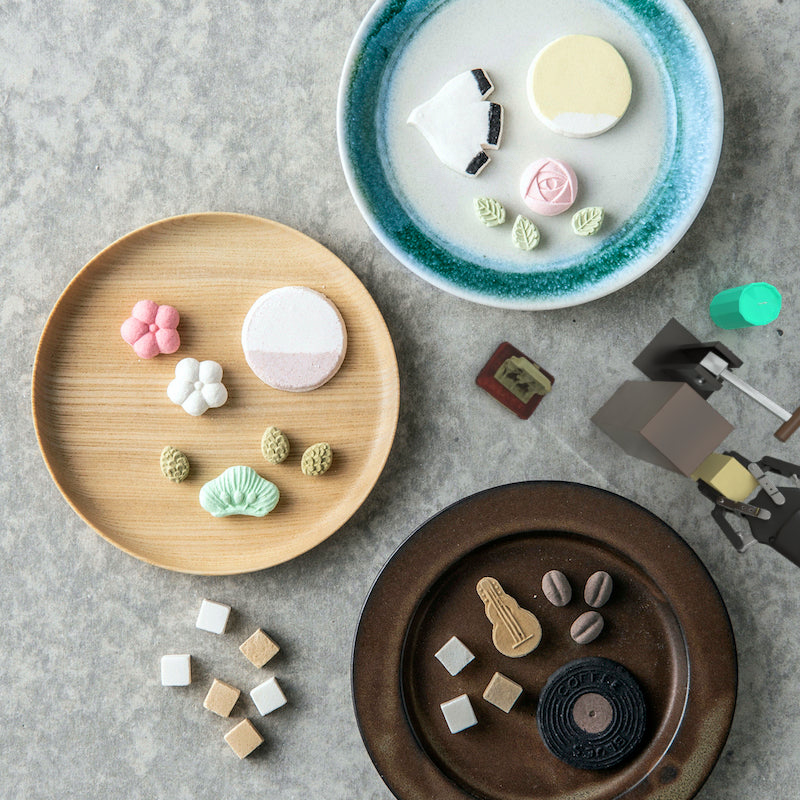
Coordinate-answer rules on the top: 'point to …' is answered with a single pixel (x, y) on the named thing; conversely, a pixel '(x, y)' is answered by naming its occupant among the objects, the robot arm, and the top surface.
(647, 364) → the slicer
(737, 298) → the candle
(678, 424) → the stand
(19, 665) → the top surface
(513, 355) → the sculpture
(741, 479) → the butter
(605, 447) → the top surface
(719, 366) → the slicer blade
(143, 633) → the top surface
